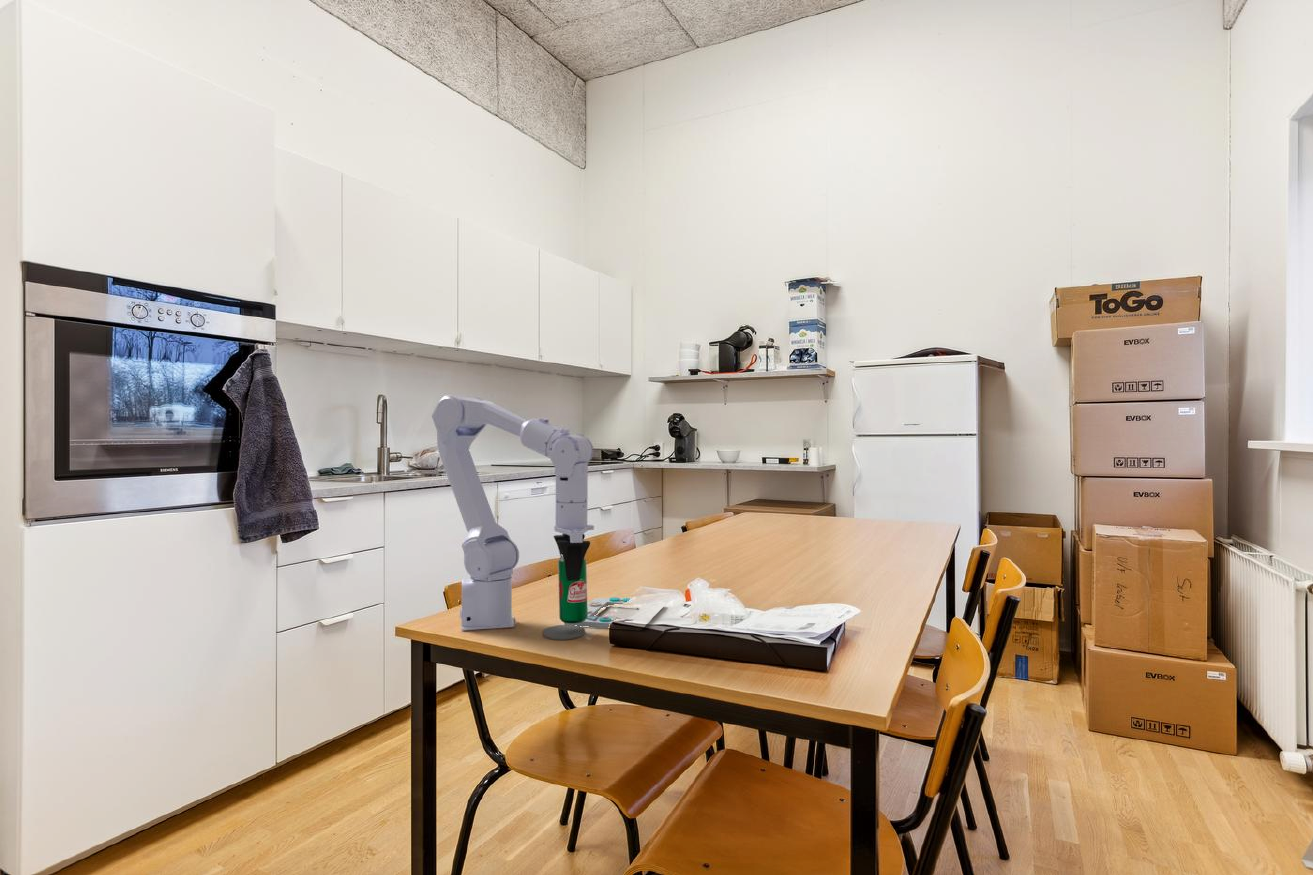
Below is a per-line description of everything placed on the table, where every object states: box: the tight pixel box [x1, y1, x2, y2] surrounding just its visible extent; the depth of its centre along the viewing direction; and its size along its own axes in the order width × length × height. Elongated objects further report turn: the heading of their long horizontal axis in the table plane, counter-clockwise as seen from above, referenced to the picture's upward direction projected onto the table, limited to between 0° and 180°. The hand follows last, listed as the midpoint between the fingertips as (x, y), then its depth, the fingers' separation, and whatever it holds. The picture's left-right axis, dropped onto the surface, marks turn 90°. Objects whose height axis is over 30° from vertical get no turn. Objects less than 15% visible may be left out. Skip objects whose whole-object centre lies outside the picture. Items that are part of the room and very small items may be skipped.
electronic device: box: [563, 597, 632, 630], centre depth 136 cm, size 18×2×15 cm
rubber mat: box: [542, 624, 586, 641], centre depth 124 cm, size 8×8×1 cm
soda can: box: [557, 553, 588, 624], centre depth 124 cm, size 5×5×12 cm
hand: (571, 577), depth 124 cm, fingers closed on soda can, 5 cm apart
